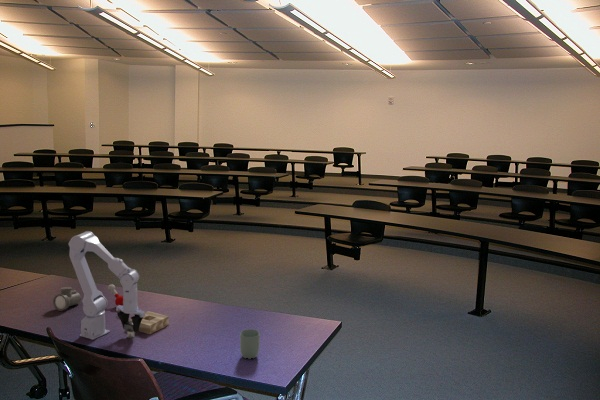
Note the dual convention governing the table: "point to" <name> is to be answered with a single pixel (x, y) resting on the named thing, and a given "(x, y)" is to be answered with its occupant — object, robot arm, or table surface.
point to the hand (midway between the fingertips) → (131, 329)
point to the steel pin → (129, 329)
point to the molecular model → (118, 298)
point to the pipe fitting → (66, 298)
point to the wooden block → (153, 322)
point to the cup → (249, 343)
